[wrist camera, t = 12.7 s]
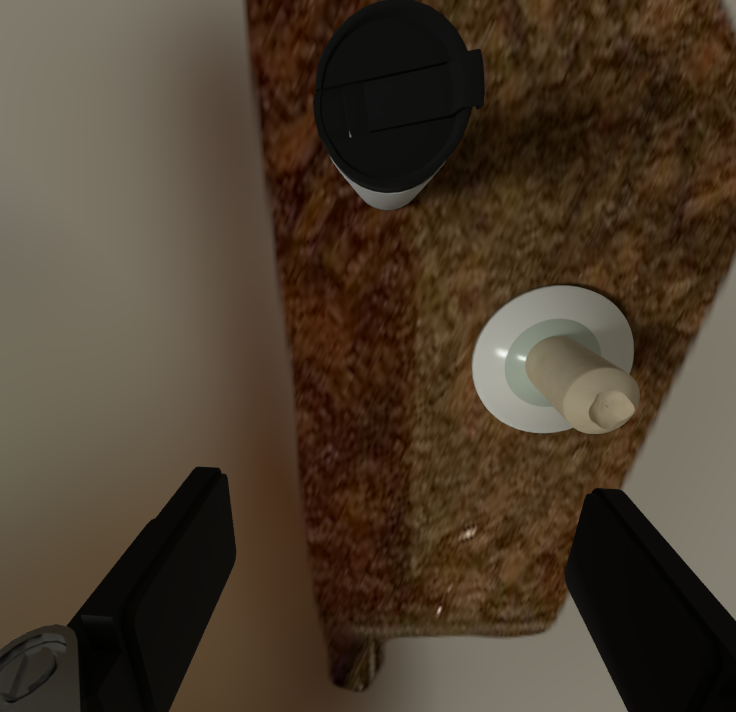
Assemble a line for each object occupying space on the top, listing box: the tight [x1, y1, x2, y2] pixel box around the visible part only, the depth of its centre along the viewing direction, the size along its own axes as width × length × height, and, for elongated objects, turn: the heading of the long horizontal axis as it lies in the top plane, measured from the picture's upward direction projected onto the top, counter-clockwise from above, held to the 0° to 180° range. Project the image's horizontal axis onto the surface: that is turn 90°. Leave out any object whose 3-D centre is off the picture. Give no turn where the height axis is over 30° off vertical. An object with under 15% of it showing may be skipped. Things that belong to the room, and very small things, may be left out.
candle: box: [525, 336, 640, 434], centre depth 32 cm, size 6×6×10 cm
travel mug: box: [313, 0, 485, 210], centre depth 23 cm, size 6×7×20 cm
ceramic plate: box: [471, 285, 634, 433], centre depth 37 cm, size 15×15×1 cm
